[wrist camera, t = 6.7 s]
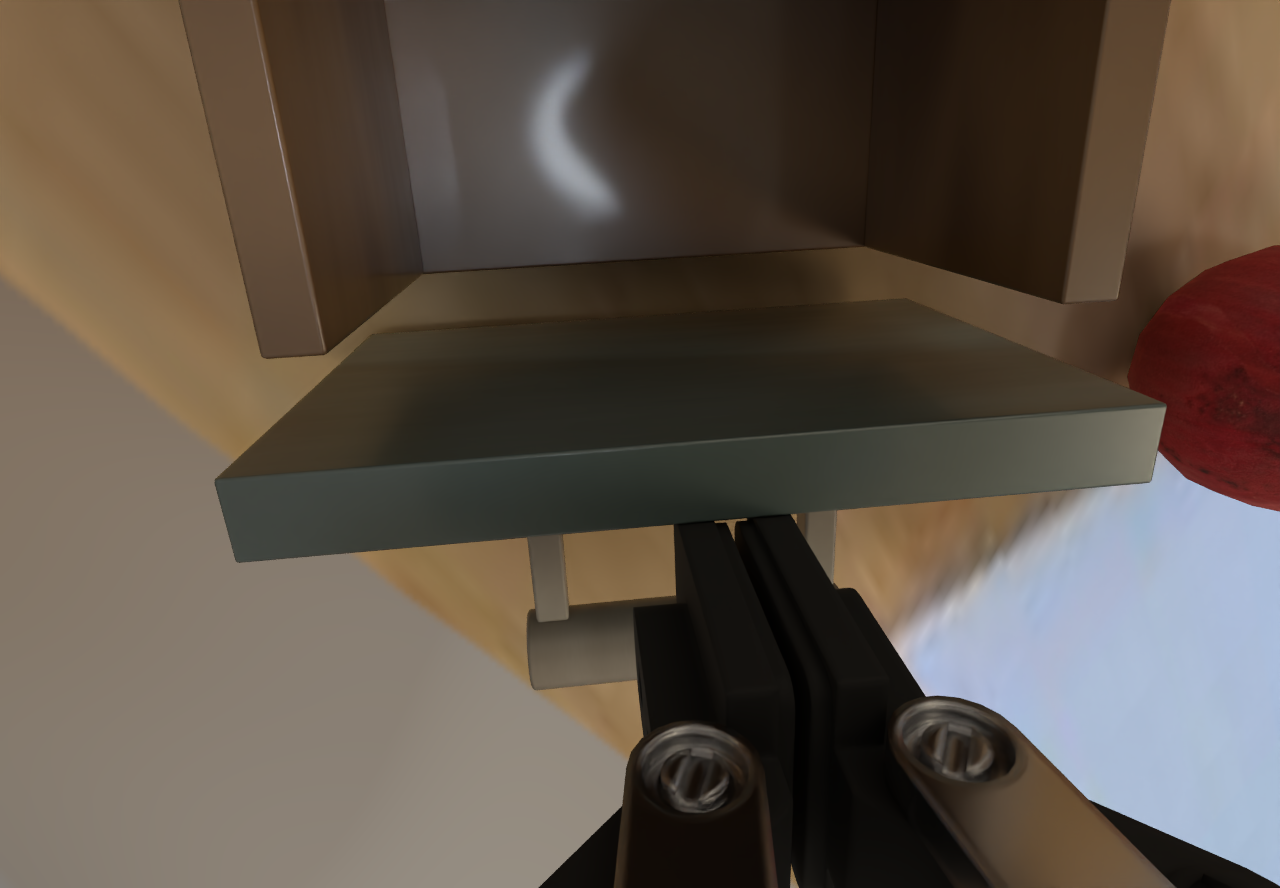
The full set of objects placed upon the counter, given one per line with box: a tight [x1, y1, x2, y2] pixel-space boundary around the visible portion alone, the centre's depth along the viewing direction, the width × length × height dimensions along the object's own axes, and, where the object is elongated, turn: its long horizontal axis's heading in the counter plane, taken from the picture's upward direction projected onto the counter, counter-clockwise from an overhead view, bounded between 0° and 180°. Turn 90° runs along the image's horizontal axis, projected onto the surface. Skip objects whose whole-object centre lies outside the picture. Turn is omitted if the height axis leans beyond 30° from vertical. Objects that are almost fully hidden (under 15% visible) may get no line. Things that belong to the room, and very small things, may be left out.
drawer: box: [179, 0, 1171, 690], centre depth 12 cm, size 19×13×8 cm, turn 3°
